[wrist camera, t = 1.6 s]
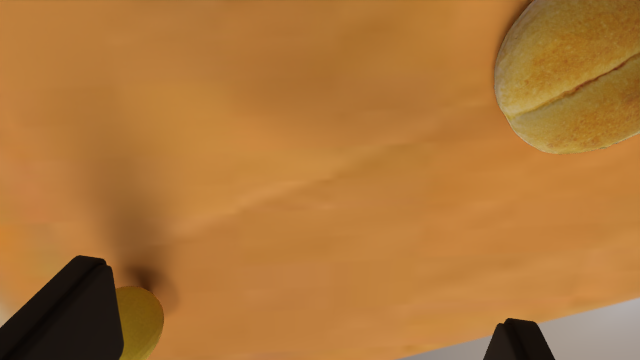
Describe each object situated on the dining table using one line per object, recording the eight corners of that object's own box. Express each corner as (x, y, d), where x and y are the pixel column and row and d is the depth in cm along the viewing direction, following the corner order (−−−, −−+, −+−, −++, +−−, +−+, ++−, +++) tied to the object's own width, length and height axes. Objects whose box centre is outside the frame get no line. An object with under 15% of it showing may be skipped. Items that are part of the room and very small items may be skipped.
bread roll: (625, -59, 20) (682, -68, 16) (668, 98, 23) (725, 120, 19) (462, 33, 22) (481, 43, 19) (521, 164, 25) (547, 194, 22)
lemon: (175, 269, 32) (121, 352, 25) (182, 321, 34) (135, 411, 27) (107, 262, 32) (35, 342, 25) (120, 314, 35) (56, 401, 28)
